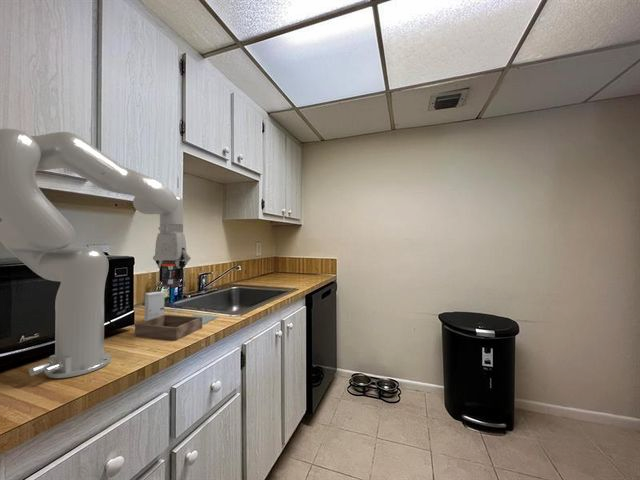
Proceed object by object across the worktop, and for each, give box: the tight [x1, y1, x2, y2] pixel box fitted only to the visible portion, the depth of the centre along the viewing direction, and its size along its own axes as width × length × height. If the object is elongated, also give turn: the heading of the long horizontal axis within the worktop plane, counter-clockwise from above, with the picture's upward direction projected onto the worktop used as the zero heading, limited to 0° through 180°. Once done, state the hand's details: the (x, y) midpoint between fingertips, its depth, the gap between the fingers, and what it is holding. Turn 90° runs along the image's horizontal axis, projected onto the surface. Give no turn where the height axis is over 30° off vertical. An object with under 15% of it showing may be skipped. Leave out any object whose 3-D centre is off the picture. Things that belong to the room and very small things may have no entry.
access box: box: [134, 314, 203, 341], centre depth 96 cm, size 13×17×4 cm
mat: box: [190, 314, 219, 326], centre depth 110 cm, size 12×12×1 cm
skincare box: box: [144, 291, 165, 321], centre depth 107 cm, size 6×4×12 cm
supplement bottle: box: [161, 261, 182, 288], centre depth 97 cm, size 6×6×11 cm
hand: (171, 278), depth 97 cm, fingers closed on supplement bottle, 6 cm apart
